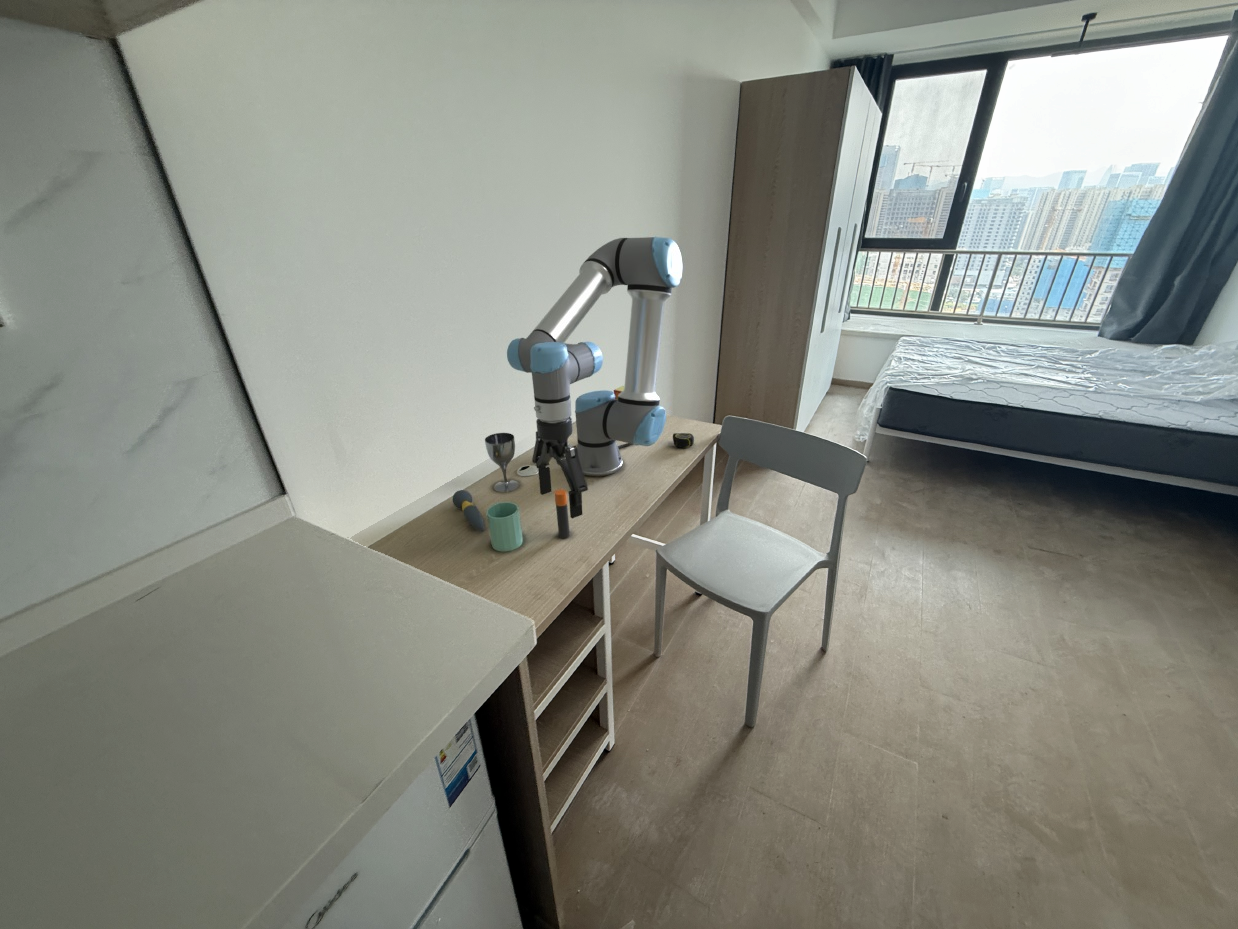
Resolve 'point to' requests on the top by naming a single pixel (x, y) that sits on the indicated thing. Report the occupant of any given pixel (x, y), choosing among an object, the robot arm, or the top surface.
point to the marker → (562, 513)
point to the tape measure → (683, 439)
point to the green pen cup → (504, 526)
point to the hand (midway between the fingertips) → (560, 504)
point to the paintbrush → (468, 508)
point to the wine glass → (502, 457)
